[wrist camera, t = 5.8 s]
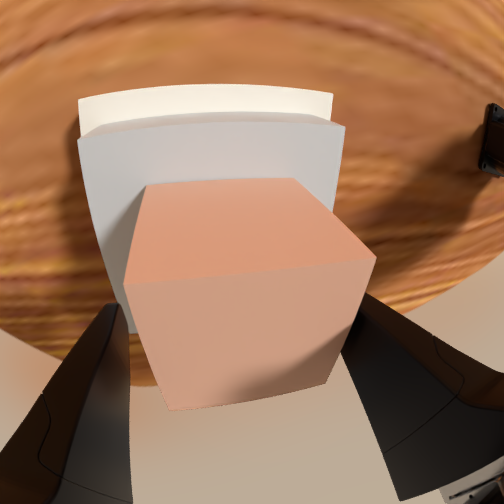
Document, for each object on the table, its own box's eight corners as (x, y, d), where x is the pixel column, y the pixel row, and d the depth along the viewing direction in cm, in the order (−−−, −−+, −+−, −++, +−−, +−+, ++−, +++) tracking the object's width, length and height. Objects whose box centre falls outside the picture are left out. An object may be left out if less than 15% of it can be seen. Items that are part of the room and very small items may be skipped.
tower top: (311, 114, 11) (345, 126, 9) (291, 274, 16) (310, 311, 14) (101, 124, 9) (77, 139, 7) (134, 292, 15) (129, 333, 12)
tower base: (307, 89, 13) (333, 93, 11) (287, 256, 19) (302, 284, 17) (97, 95, 11) (78, 99, 9) (124, 270, 17) (117, 302, 15)
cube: (293, 177, 10) (376, 257, 6) (279, 288, 12) (325, 383, 8) (146, 185, 9) (123, 284, 4) (163, 301, 11) (169, 410, 7)
